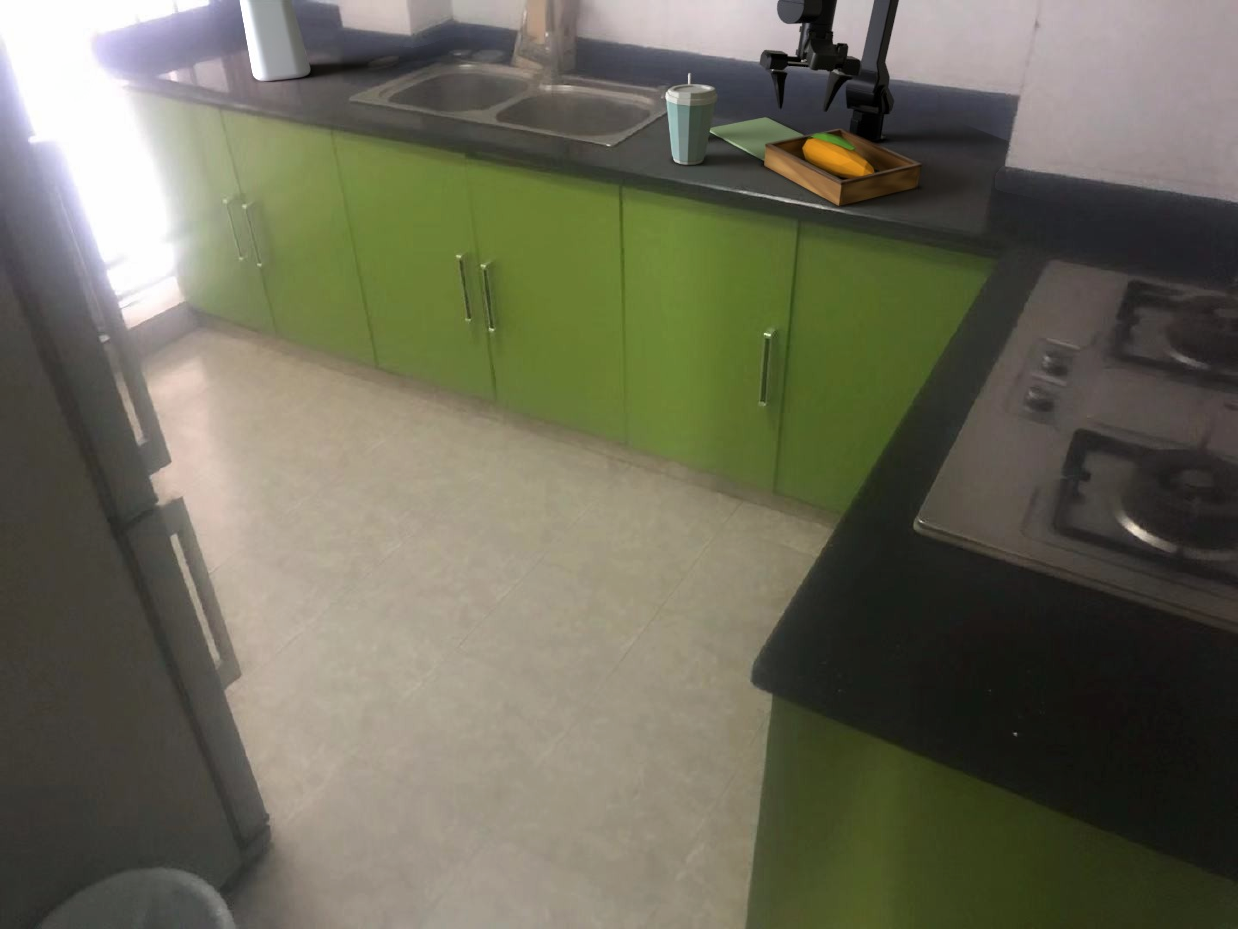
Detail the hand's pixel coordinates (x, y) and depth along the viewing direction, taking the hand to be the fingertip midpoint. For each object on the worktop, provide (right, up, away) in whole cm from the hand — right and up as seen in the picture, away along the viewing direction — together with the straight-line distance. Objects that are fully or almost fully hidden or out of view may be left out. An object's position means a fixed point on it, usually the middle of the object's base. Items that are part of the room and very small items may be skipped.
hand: (802, 109), depth 186 cm
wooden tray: (+8, -11, +5) cm, 15 cm away
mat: (-4, +2, +23) cm, 24 cm away
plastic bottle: (-129, +38, +76) cm, 154 cm away
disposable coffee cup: (-21, -5, +14) cm, 26 cm away
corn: (+8, -12, +5) cm, 15 cm away
